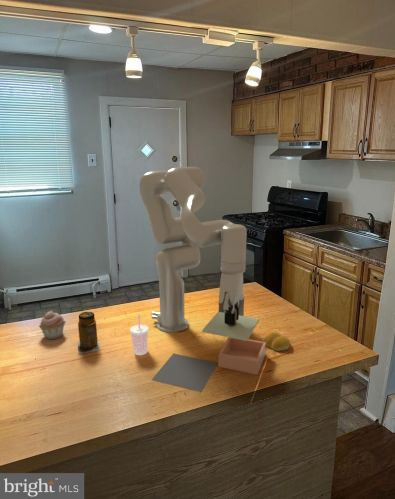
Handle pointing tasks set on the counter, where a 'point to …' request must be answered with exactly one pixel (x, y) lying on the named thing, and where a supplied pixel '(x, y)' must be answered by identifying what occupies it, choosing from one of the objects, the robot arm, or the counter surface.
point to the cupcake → (52, 325)
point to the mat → (186, 372)
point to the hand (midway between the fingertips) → (231, 321)
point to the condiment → (87, 333)
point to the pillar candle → (241, 307)
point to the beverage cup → (139, 338)
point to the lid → (231, 326)
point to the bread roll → (277, 341)
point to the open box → (242, 355)
